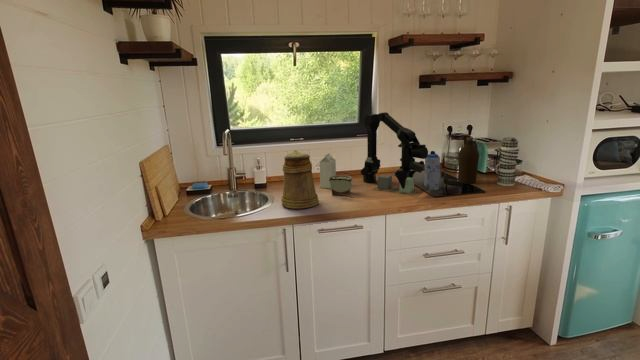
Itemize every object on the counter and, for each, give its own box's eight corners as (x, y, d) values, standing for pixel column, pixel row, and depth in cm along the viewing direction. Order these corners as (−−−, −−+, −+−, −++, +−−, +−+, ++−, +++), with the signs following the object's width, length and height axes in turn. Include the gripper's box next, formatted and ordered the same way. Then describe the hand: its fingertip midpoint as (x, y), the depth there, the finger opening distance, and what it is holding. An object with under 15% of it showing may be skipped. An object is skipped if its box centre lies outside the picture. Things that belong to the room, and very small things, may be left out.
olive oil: (464, 185, 190) (467, 139, 183) (452, 180, 200) (455, 137, 193) (481, 183, 192) (484, 138, 186) (469, 178, 202) (472, 135, 196)
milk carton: (320, 187, 197) (319, 154, 192) (325, 184, 203) (323, 152, 198) (332, 188, 194) (331, 155, 189) (336, 185, 200) (335, 152, 196)
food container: (355, 193, 183) (354, 175, 181) (352, 197, 178) (352, 178, 175) (332, 192, 187) (332, 174, 185) (329, 195, 182) (328, 177, 179)
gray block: (377, 188, 185) (377, 176, 183) (382, 186, 189) (382, 174, 187) (387, 190, 182) (387, 177, 180) (391, 187, 186) (392, 175, 184)
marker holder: (371, 192, 184) (371, 179, 182) (380, 186, 193) (380, 174, 192) (411, 198, 172) (412, 184, 170) (419, 191, 181) (420, 178, 179)
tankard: (283, 211, 160) (279, 159, 154) (279, 197, 183) (275, 150, 176) (322, 207, 164) (319, 155, 157) (313, 193, 186) (310, 147, 180)
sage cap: (399, 191, 178) (399, 179, 176) (403, 188, 183) (403, 176, 181) (409, 193, 175) (410, 180, 173) (413, 190, 179) (414, 177, 178)
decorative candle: (510, 187, 182) (515, 139, 176) (493, 184, 189) (497, 138, 183) (518, 183, 188) (523, 137, 181) (500, 180, 195) (505, 136, 188)
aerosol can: (426, 185, 193) (427, 149, 188) (440, 186, 188) (442, 150, 183) (421, 188, 187) (423, 152, 182) (436, 190, 182) (438, 153, 177)
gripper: (416, 161, 162) (415, 193, 166) (429, 154, 177) (427, 183, 181) (394, 159, 168) (393, 190, 172) (407, 152, 183) (407, 181, 187)
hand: (406, 186), depth 178 cm, fingers open, 9 cm apart
